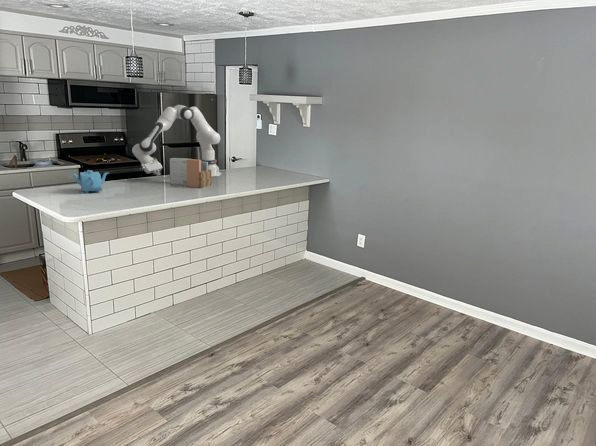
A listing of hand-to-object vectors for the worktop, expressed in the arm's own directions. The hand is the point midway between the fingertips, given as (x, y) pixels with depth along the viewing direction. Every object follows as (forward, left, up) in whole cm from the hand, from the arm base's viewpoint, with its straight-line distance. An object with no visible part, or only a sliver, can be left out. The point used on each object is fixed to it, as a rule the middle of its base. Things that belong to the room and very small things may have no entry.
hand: (159, 175), depth 357 cm
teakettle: (+54, -21, -5) cm, 58 cm away
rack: (0, +40, -5) cm, 41 cm away
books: (0, +34, -5) cm, 34 cm away
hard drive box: (0, +19, -5) cm, 20 cm away
